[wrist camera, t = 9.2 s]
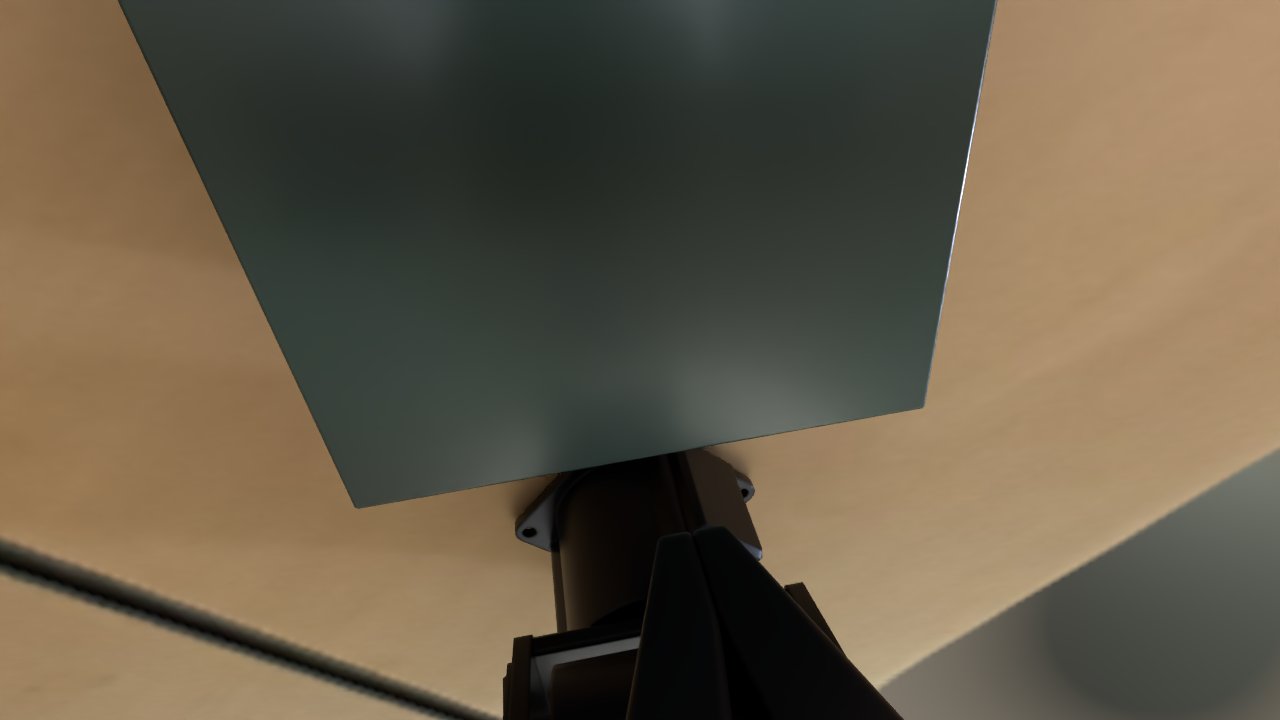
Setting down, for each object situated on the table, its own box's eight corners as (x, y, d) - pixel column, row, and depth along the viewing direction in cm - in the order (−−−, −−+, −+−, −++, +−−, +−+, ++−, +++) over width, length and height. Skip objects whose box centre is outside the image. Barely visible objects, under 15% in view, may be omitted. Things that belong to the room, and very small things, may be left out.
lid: (-80, -503, 7) (-138, -534, 6) (1063, -591, 8) (1114, -626, 7) (360, 481, 15) (354, 510, 14) (908, 385, 16) (925, 409, 15)
